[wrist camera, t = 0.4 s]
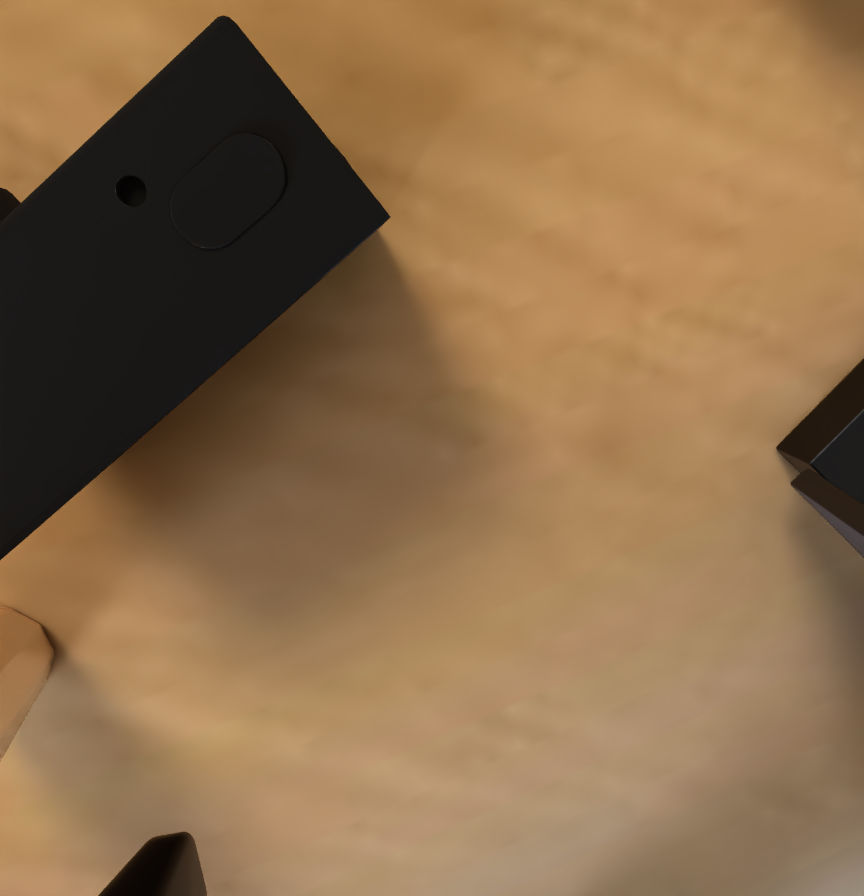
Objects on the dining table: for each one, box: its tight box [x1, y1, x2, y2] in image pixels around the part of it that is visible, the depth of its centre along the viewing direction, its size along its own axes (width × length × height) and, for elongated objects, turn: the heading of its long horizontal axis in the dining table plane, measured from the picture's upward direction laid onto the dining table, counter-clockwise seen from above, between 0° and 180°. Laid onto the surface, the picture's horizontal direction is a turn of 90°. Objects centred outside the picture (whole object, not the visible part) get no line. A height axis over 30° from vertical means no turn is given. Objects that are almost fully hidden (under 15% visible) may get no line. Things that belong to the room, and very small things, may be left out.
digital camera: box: [0, 16, 390, 560], centre depth 16 cm, size 10×5×7 cm, turn 130°
